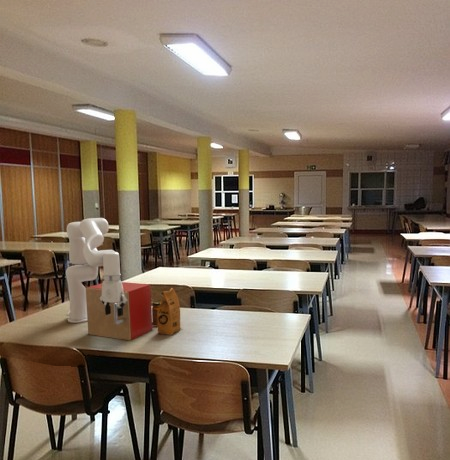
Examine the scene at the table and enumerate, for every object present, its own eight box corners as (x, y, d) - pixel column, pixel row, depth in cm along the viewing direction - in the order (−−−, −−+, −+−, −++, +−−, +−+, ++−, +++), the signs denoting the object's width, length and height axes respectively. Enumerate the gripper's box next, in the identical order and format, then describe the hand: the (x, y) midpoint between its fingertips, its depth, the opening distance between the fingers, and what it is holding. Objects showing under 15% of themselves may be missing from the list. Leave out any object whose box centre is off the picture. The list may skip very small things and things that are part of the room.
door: (121, 344, 233) (118, 295, 229) (78, 337, 244) (75, 290, 241) (131, 339, 239) (128, 291, 236) (89, 333, 251) (86, 287, 248)
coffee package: (154, 333, 249) (152, 291, 246) (167, 327, 260) (165, 286, 257) (171, 335, 245) (169, 293, 242) (183, 329, 256) (182, 288, 253)
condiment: (166, 324, 266) (165, 302, 264) (152, 327, 261) (151, 305, 259) (160, 321, 272) (159, 300, 270) (146, 323, 267) (145, 302, 266)
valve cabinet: (131, 339, 240) (129, 291, 236) (89, 333, 251) (87, 287, 248) (152, 329, 256) (150, 284, 252) (112, 324, 267) (110, 280, 264)
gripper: (92, 278, 230) (94, 315, 232) (122, 280, 222) (123, 318, 225) (103, 275, 237) (105, 311, 239) (132, 277, 229) (133, 314, 231)
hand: (114, 314), depth 232 cm, fingers open, 6 cm apart
